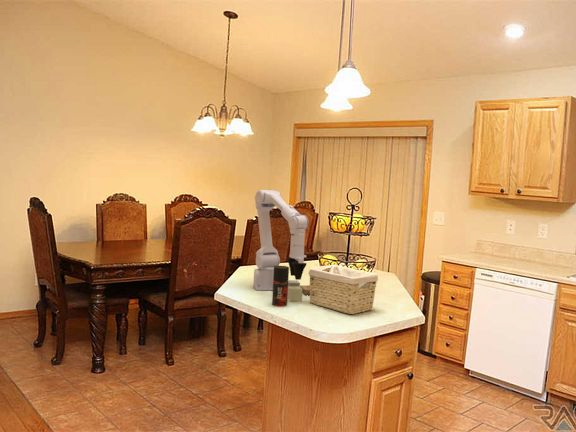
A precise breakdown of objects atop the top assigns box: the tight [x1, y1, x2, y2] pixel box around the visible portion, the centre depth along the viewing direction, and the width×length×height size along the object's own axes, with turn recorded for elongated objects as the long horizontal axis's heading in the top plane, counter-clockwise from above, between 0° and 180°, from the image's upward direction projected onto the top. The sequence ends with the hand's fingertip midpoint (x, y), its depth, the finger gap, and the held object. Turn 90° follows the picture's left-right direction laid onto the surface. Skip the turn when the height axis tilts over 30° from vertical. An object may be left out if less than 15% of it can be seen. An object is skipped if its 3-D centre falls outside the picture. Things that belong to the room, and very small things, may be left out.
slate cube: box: [288, 279, 301, 287], centre depth 213 cm, size 5×5×5 cm
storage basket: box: [308, 264, 379, 315], centre depth 194 cm, size 24×16×15 cm
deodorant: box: [271, 265, 290, 308], centre depth 192 cm, size 6×6×15 cm
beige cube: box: [287, 286, 303, 302], centre depth 202 cm, size 5×5×5 cm
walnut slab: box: [300, 284, 313, 297], centre depth 214 cm, size 8×8×3 cm
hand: (295, 277), depth 201 cm, fingers open, 7 cm apart
